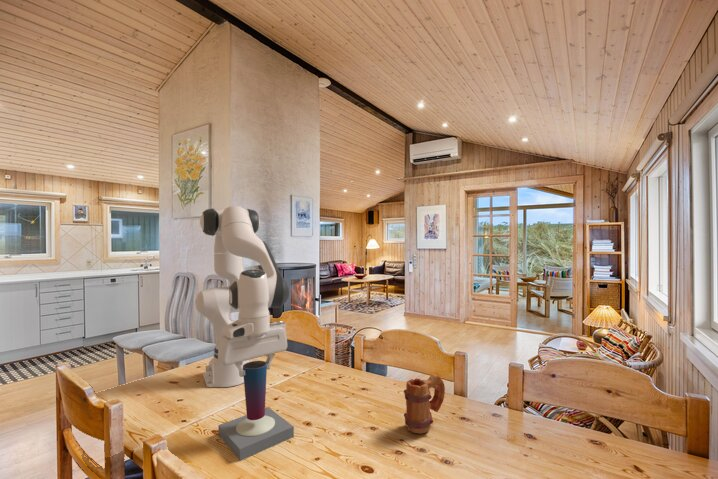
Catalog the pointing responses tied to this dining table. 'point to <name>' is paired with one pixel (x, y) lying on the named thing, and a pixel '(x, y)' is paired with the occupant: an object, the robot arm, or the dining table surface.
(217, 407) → the dining table surface
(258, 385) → the cup
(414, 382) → the mug
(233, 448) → the plinth
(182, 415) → the dining table surface
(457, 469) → the dining table surface
